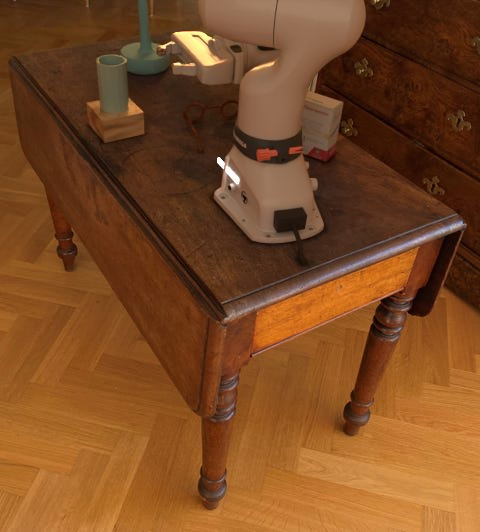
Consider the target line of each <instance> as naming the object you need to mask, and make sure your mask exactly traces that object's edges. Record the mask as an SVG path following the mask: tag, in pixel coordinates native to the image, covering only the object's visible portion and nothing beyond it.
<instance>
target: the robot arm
mask: <svg viewBox="0 0 480 532" xmlns="http://www.w3.org/2000/svg"><path fill="white" fill-rule="evenodd" d="M197 10H198V15H199V17H200V21H201V23H202V26H203V27H204V28H205V30H206V31H207V32H208V33H210V34H212V35H213V36H212V37H210V36H208V35H207V34H206V33H204V32H202V31H175V32H173V33H171V35H170V41H169V42H167V43H165V44H163V45H162V44H161V45H162V46H157V47H156V53H157V55H158V56H159V57H162V56H166V54H169V55H170V54H172V55H174V54H175V55H176V56H177V57H178V58H179V59H180V60H181V61H182V63H181V62H175V63H171V64H170V72H171V73H172V74H173V75H174V76H176V75H182V76H183V75H184V76H189V77H196V79H198V80H199V82H200V83H201V84H203V85H207V86H221V85H228V84H233V85H239V89H238V90H239V91H238V92H239V94H238V101H239V103H238V104H237V110H238V115H237V118H236V119H235V121H234V126H233V131H232V133H233V134H232V135H233V139H232V141H233V145H232V147H231V148H230V150H229V152H228V153H227V154H226V155H225V157H224V161H223V160H222V159H221V157H217V164H218V165H219V166H220V167H221V168H222V169H223V170H222V178H221V185H220V187H219V188H217V189H216V190H215V191H214V193H213V199H214V201H215V202H216V203H217V204H218V205H219V206H220V208H222V210H223V211H224V212H225V213H226V214H227V216H229V217H230V219H232V221H233V222H234V223H235V224H236V225H237V226H238V228H239V229H240V230H241V231H242V232H243V233H244V234H245V235H246V236H247V237H248V238H249V239H250V240H251V241H252V242H255V243H263V244H283V243H284V244H285V243H290V242H296V244H297V253H298V259H299V262H300V263H301V264H302V265H305V264H306V263H307V260H306V259H305V256H304V255H305V254H304V246H303V242H302V241H303V240H305V239H308V238H311V237H314V236H316V235H319V234H320V233H321V232H322V231H323V230H324V228H325V223H324V221H323V218H322V215H321V212H320V210H319V208H318V205H317V202H316V200H315V196H314V192H316V191H317V190H318V187H319V184H318V182H319V181H318V178H316V177H310V174H309V171H308V170H309V168H310V163H309V161H305V158H304V154H302V152H303V142H302V141H303V135H302V126H301V119H302V113H303V108H304V103H305V99H306V95H307V92H308V91H309V89H310V87H311V84H312V83H313V80H314V79H315V77H316V76H317V74H319V72H321V70H322V69H323V68H324V67H325V66H326V65H327V64H328V63H330V62H331V61H332V60H334V59H336V58H338V57H340V56H341V55H343V54H345V53H347V52H348V51H349V50H350V49H352V48H353V47H354V46H355V45H356V43H357V42H358V41H359V39H360V37H361V36H362V33H363V31H364V29H365V24H366V18H367V17H366V16H367V13H366V12H367V11H366V10H367V9H366V4H365V0H197Z"/></svg>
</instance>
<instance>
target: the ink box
mask: <svg viewBox="0 0 480 532" xmlns="http://www.w3.org/2000/svg"><path fill="white" fill-rule="evenodd" d="M343 108H344V101H341V100H338V99H335V98H331V97H328V96H326V95H322V94H319V93H316V92H314V91H310V90H308V92H307V95H306V99H305V103H304V108H303V113H302V119H301V126H302V135H303V141H302V142H303V152H302V154H303V155H306V156H307V157H308V156H309V157H311V158H313V159H316V160H319V161H322V162H327V161H328V160H329V159H331V157H333V155H334V154H335V153H336V146H337V142H338V136H339V129H340V124H341V119H342V113H343Z"/></svg>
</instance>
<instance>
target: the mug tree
mask: <svg viewBox="0 0 480 532" xmlns="http://www.w3.org/2000/svg"><path fill="white" fill-rule="evenodd" d="M137 12H138V24H139V25H138V27H139V41H138V42H132V43H128V44H126V45H124V46H123V47H122V48H121V49H120V51H119V55H120V56H123V57H124V58H126V61H127V73H130V74H135V75H139V76H140V75H142V76H150V75H151V76H152V75H153V76H154V75H157V74H161V73H163V72H165V71H167V69H168V68H169V66H170V62H171V61H170V53H169V54H166V56H162V57H159V56H158V55H157V53H156V47H157V46H162V44H160V43H155V42H152V37H151V32H150V22H149V21H150V18H149V5H148V0H137Z"/></svg>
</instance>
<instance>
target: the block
mask: <svg viewBox="0 0 480 532" xmlns="http://www.w3.org/2000/svg"><path fill="white" fill-rule="evenodd" d="M85 105H86V112H87V121H88V122H87V123H88V125H89V127H91V129H92V130H93V131H94V132H95V134H96V135H97V136H98V137H99V138H100V140H102V142H103V143H104V144H107V143H112V142H115V141H119V140H125V139H128V138H133V137H137V136H141V135H145V114H144V113H145V112H144V111H143V110H142V109H141V108H140V107H139V106H138V105H136V103H135V102H134V101H133V100H131V98H129V108H128V110H126V111H125V112H122V113H107V112H104V111H102V110H101V108H100V101H99V99H98V100H93V101H87V102H86V104H85Z"/></svg>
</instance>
